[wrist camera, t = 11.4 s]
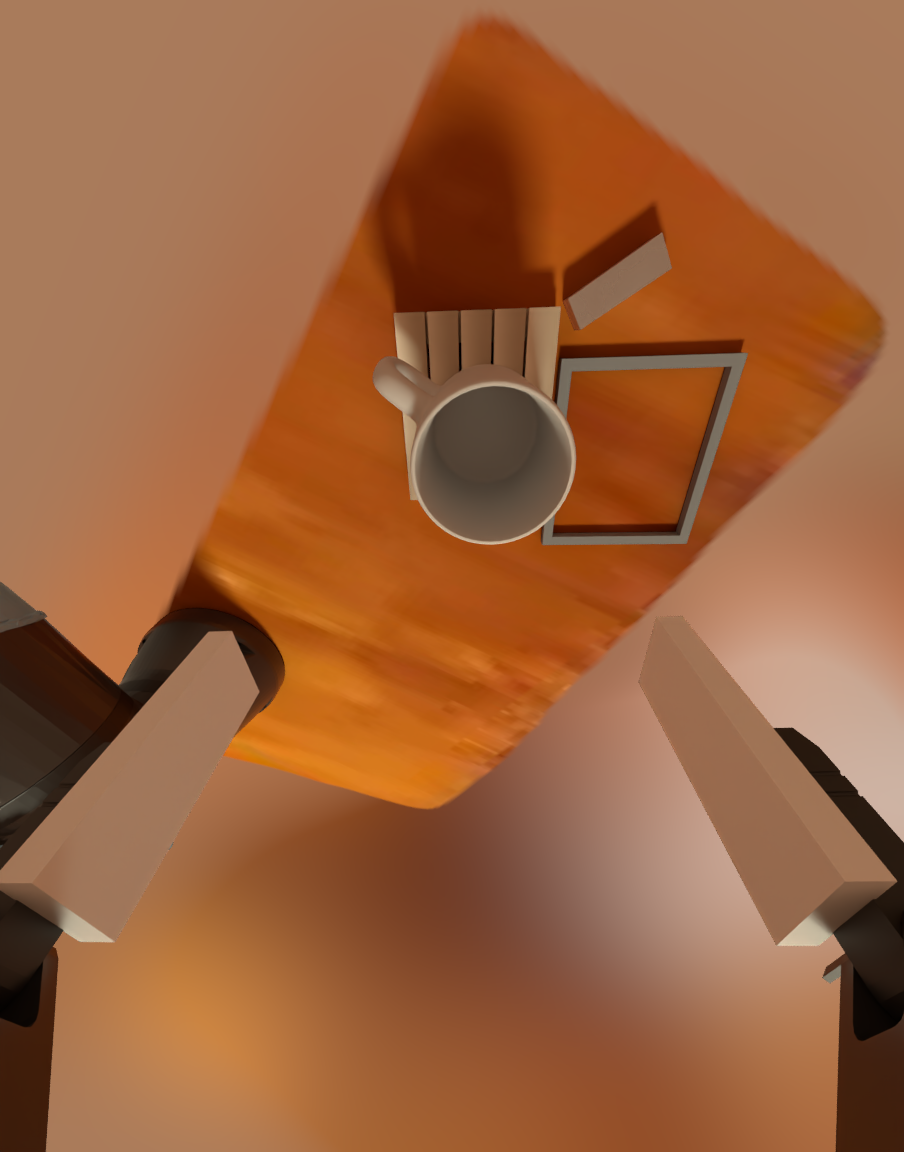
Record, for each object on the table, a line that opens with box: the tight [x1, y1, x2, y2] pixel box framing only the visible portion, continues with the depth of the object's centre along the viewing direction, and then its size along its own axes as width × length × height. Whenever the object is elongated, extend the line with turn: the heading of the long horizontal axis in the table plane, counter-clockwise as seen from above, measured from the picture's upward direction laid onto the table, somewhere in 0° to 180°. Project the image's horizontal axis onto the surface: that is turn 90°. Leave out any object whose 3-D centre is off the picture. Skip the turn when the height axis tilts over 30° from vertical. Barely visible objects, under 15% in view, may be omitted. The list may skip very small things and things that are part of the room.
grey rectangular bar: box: [563, 233, 672, 330], centre depth 25 cm, size 6×2×2 cm, turn 122°
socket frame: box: [541, 353, 748, 545], centre depth 31 cm, size 13×15×1 cm
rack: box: [394, 307, 561, 500], centre depth 29 cm, size 11×13×2 cm
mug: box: [373, 356, 576, 544], centre depth 24 cm, size 12×8×11 cm
